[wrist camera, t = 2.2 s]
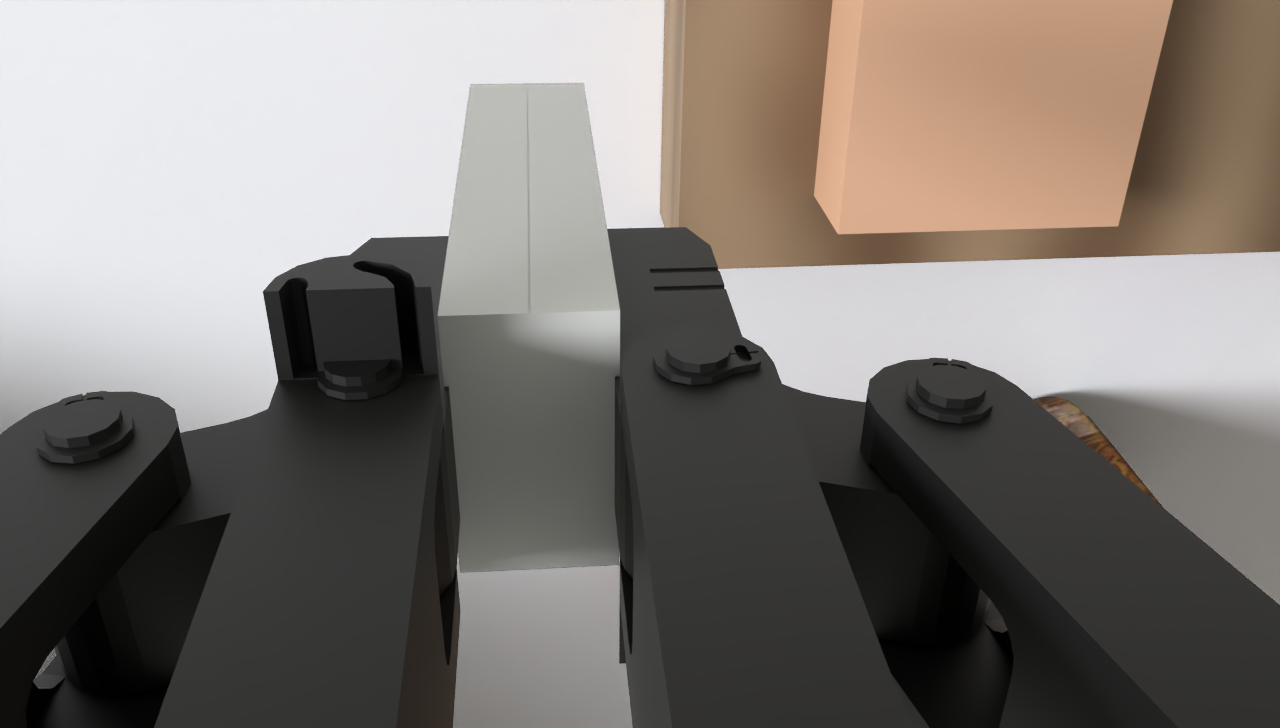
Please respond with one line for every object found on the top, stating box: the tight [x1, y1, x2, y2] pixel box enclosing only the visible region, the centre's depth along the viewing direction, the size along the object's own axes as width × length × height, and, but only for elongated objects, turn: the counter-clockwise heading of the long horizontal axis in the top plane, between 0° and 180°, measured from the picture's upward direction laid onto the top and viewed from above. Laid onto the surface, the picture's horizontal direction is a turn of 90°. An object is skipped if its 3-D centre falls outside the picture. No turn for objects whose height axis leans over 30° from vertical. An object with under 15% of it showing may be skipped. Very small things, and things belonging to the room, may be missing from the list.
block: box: [814, 0, 1173, 234], centre depth 26 cm, size 7×10×2 cm
